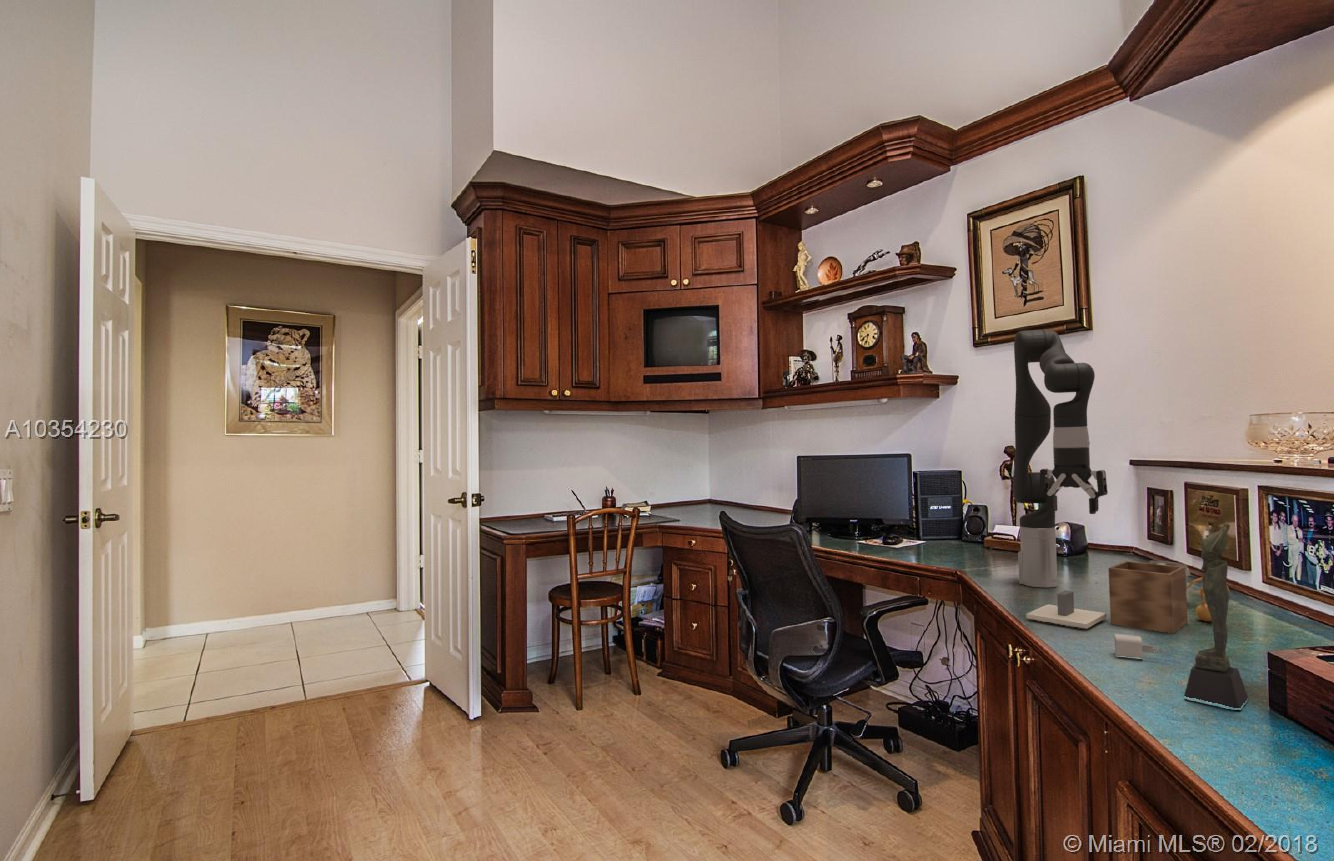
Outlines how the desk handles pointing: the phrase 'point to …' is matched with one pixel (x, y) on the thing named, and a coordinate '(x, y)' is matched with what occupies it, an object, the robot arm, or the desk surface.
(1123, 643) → the usb wall charger
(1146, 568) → the box
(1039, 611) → the lid
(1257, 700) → the desk surface
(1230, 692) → the statue
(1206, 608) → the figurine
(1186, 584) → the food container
